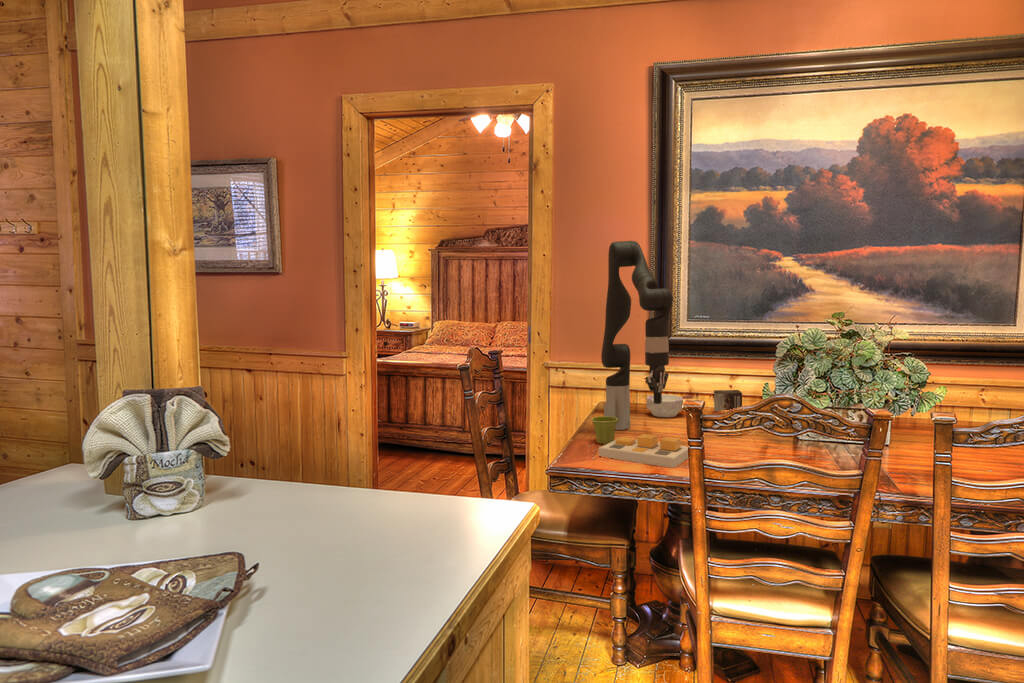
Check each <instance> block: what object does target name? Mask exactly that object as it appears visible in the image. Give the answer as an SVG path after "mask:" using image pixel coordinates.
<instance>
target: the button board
mask: <svg viewBox="0 0 1024 683" xmlns="http://www.w3.org/2000/svg"><path fill="white" fill-rule="evenodd" d="M617 439H618V438H617ZM617 439H614V441H612V442H610V443H608V444H603V445H602V446H600V447H598V457H599V456H603V457H608V458H607V459H610V458H613V459H612V460H617V459H618V460H619V461H623V462H624V461H625V462H631V463H637V464H638V463H639V464H643V465H644V464H645V465H652V466H656V467H657V466H658V467H659V466H660V467H665V468H672V469H675V468H676V467H677V466H679V465H681V464H683V462H685V461H686V460H688V459H689V458H688V447H687V445H681V448H679V449H677V450H676V451H672V450H664V449H660V442H658V445H656V446H654V447H652V448H649V447H642V446H638V444H637V439H636V443H635V444H633V445H631V446H625V445H618V444H616V440H617ZM603 457H602V458H603ZM618 460H617V461H618Z"/></svg>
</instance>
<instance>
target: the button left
mask: <svg viewBox="0 0 1024 683" xmlns="http://www.w3.org/2000/svg"><path fill="white" fill-rule="evenodd" d="M615 440H616V439H615ZM636 440H637V439H636V438H632V437H627V436H626V437H624V436H622V437H618V438H617V440H616V444H618V445H625V446H631V445H633V444H635V443H636Z"/></svg>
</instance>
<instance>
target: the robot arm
mask: <svg viewBox="0 0 1024 683" xmlns="http://www.w3.org/2000/svg"><path fill="white" fill-rule="evenodd" d="M607 256H608V259H607V261H608V264H607V265H608V266H607V269H608V270H607V272H608V274H607V275H608V276H607V277H608V280H607V282H608V284H607V291H606V292H607V293H606V302H605V303H606V304H605V319H604V320H605V321H604V322H605V323H604V325H605V326H604V334H603V341H602V347H601V354H600V355H601V357H600V359H601V365H602V366H603V367H604V368H607V369H613V368H614V369H615V368H619V370H618V371H617V372H615V373H614V374H612V375H608V376H607V377H606V378H605V398H606V399H605V403H604V404H603V405H604V408H603V410H604V412H603V413H604V414H603V415H604V416H608V417H615V418H617V419H618V421H617V423H616V426H615V429H616V430H615V431H623V430H624V431H625V429H626V430H629V429H631V398H630V397H631V395H630V394H631V392H630V391H631V390H630V388H631V385H630V381H631V380H630V379H631V349H630V346H629V345H628V344H627V343H615V342H614V341H615V339H616V337H617V335H618V333H620V331H621V330H622V329H623V327H624V326H625V324H626V323H627V322H628V320H629V319H630V317H631V309H632V298H631V295H630V293H629V291H628V290H627V288H626V287H625V285H624V283H623V281H622V280H621V278H620V268H624V267H625V268H626V267H628V268H629V267H634V269H633V271H632V274H631V282H632V285H633V287H634V288H635V289H636V291H637V294H638V300H639V306H640V307H641V309H642V310H644V311H647V312H653V311H654V312H655V311H656V312H657V311H658V314H657V315H656V316H654V317H650V318H648V319H646V321H645V329H644V330H645V331H644V332H645V341H644V360H645V361H644V364H645V366H649V370H648V376H646V377H645V381H646V383H647V387H648V389H649V391H650V392H652V393H653V394H652V395H654V403H655V404H660V403H662V394H663V390H665V389H666V386H667V383H668V382H667V381H668V378H669V373H668V372H666V367H667V366H668V365H669V364H670V350H669V349H670V348H669V347H670V346H669V345H670V343H669V337H668V334H669V333H668V331H669V330H668V325H669V324H668V323H669V318H670V313H671V310H672V307H673V304H674V303H673V301H674V297H673V293H672V292H671V290H670V289H669V288H659V283H658V281H657V280H656V278H655V276H654V275H653V273H652V272H651V270H650V269H649V266H648V263H647V261H646V260H647V259H646V257H645V255H644V253H643V250H642V247H641V246H640V244H639V242H637V241H635V240H622V241H613V242H611V243H610V245H609V248H608V255H607ZM665 366H666V367H665Z"/></svg>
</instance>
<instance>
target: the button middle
mask: <svg viewBox="0 0 1024 683" xmlns="http://www.w3.org/2000/svg"><path fill="white" fill-rule="evenodd" d="M658 439H659V438H658V435H655V434H647V433H643V434H641V435H638V436H637V439H636V440H637V444H638V446H642V447H649V448H652V447H654V446H656V445H658V443H659V440H658Z"/></svg>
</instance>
